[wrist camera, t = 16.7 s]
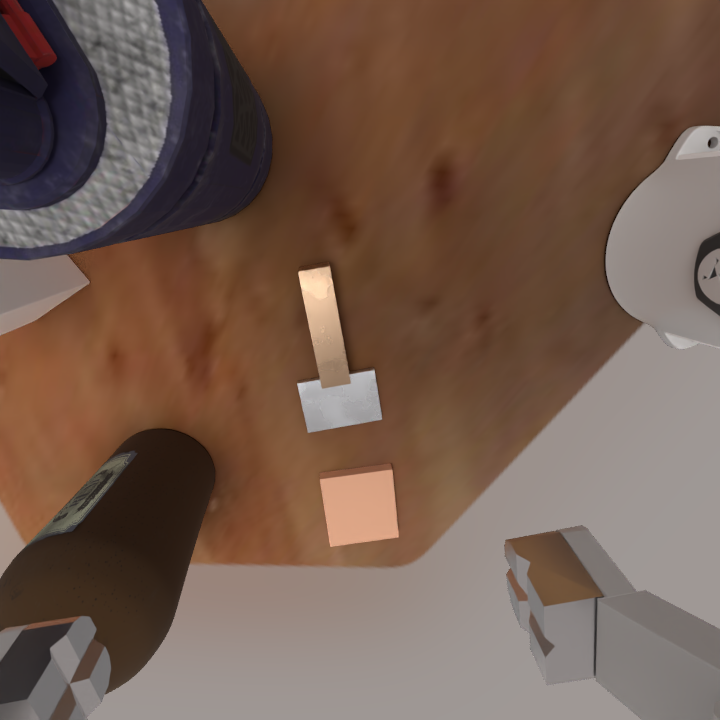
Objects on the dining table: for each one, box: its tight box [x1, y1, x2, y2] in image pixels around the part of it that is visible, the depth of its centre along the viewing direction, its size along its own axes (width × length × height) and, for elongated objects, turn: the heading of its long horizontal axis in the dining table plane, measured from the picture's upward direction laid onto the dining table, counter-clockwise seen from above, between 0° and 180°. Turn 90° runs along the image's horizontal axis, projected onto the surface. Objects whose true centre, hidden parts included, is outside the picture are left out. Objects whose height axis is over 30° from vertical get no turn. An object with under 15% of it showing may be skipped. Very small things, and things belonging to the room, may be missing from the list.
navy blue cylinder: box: [0, 0, 272, 261], centre depth 21 cm, size 14×12×30 cm
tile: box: [320, 463, 399, 547], centre depth 46 cm, size 7×2×8 cm
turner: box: [297, 262, 382, 433], centre depth 40 cm, size 7×15×3 cm, turn 9°
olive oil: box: [0, 429, 215, 694], centre depth 32 cm, size 11×11×25 cm
